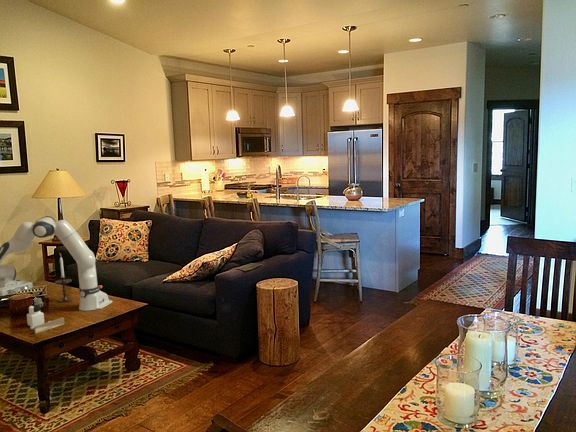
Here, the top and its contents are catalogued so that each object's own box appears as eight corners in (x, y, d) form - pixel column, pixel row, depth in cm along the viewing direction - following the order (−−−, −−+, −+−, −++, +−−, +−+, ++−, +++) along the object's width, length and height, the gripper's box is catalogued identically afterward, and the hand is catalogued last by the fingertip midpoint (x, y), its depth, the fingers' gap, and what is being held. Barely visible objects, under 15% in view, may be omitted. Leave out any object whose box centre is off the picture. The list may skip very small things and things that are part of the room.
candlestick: (53, 302, 337) (48, 253, 332) (64, 297, 347) (59, 250, 342) (65, 303, 334) (61, 254, 329) (76, 298, 344) (72, 250, 339)
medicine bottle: (39, 321, 298) (37, 303, 296) (44, 324, 293) (42, 305, 292) (27, 325, 292) (25, 306, 291) (32, 327, 288) (30, 308, 286)
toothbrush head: (33, 294, 346) (43, 296, 327) (34, 303, 346) (44, 306, 327) (25, 295, 342) (35, 298, 323) (26, 305, 342) (36, 308, 324)
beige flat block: (25, 330, 283) (24, 324, 282) (53, 321, 298) (53, 314, 298) (36, 333, 277) (35, 327, 277) (64, 324, 292) (63, 317, 292)
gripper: (-9, 286, 294) (4, 289, 287) (24, 278, 312) (37, 281, 304) (-7, 296, 295) (5, 299, 288) (25, 288, 313) (37, 291, 305)
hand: (21, 290), depth 296 cm, fingers open, 4 cm apart
